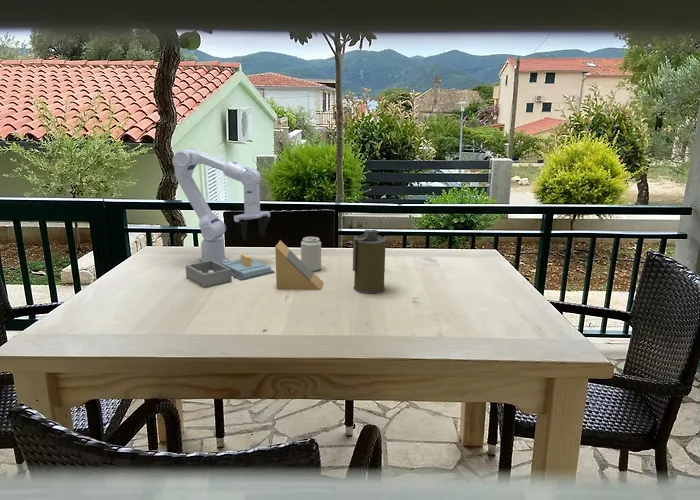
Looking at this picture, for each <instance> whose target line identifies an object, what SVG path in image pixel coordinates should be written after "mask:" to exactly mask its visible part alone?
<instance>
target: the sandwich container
mask: <svg viewBox="0 0 700 500" xmlns="http://www.w3.org/2000/svg"><path fill="white" fill-rule="evenodd" d="M274 249H275V279H276V281H275V282H276V283H275V284H276V289H277V290H293V291H295V290H296V291H297V290H298V291H299V290H300V291H322V290H323V288H324V283H325V282H324V281H323V280H322V279H321V278H320V277H319V276H318V275H317V274H316V273H315V272H314V271H313V272H312V271H311V270H310V269H309V268H308V267H307V266H306V265H305V264H304V263H303V262H302V261H301V258H299V257H298V256H297V255H296V254H295V253H294V252H293V251H292V250H291V249H290V248H289V247H288V246H287V245H286V244H285V243H284V242H283V241H282V240H280V239H279V240H278V243H277V244H276V245H275V247H274Z"/></svg>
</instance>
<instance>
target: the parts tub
mask: <svg viewBox="0 0 700 500" xmlns="http://www.w3.org/2000/svg"><path fill="white" fill-rule="evenodd" d="M185 273H186V274H185V276H186V279H189V280H190V281H192V282H194V283H195V284H197V285H199V286H201V287H203V288H205V289H206V288H210V287H215V286H219V285H223V284H228V283H231V282H232V281H233V280H232V276H231V269H229V268H227V267H225V266H223V265H222V263H220V264H219V263H217V262H215V261H213V260H210V261H205V262H203V261H200V262H196V263H190V264H185Z"/></svg>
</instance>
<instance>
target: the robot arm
mask: <svg viewBox="0 0 700 500" xmlns="http://www.w3.org/2000/svg"><path fill="white" fill-rule="evenodd" d="M172 164H173V165H174V175H175V179H176V181H177V183H178V185H179V186H180V188H181V189H182V191H183V193H184V195H185V197H186V198H187V200H188V202H189V203H190V205H191V207H192V209H193V211H194V212H195V214H196V215H197V217H198V220H199V223H198V226H199V228H200V232H201V233H200V234H201V236H202V238H203V239H202V241H201V242H200V244H201V245H200V249H201V250H200V251H201V258H199V260H200V262H205V261H210V260H213V261H215V262H217V263H219V264H222V263H226V262H230V260H229V259H227V258H226V256H225V255H226V254H225V252H226V251H225V237H224V234H225V232H226V231H227V227H226V224H225V223H224V222H223V220H221V219H220V218H219V216H218V215H216V214H215V213H214V212H213V211H212V210H211V207H210V206H209V203H208V202H207V201H206V199H205V197H204V196H203V194H202V192H201V190H200V188H199V186H198V185H197V183H196V181H195V180H194V178H193V173H194V171H195V168H196V167H197V165H200V164H201V165H205V166H208V167H211V168H214V169H216V170H219V171H221V172H223V174H224V176H226V177H228V178H230V179H232V180H235V181H237V182H240V183H242V185H243V207H244V208H243V209H244V212H243V213H242V214H237V215H233V221H234V222H235V224H236V226H237V227H238V229H239V232H240V235H241V239H242V240H244V241H247V240H248V239H247V238H248V234H247V232H248V222H247V220H254V219H257V222H258V234H259V237H265V233H266V229H267V226H268V224H269V223H270V217H271V212H270V211H261V201H260V200H261V199H260V181H261V179H262V176H261V173H260V171H259V170H257V169H255V168H250V167H249V166H243V165H242V164H239V163H238V161H236V160H233V161H231V160H229V161H228V162H225V161H223V160H221V159H220V158H217V157H215V156H212V155H210V154H208V153H206V152H204V151H202V150H199V149H196V148H193V147H191V148H188V149H179V150H177V151H176V152H175V153H174V156H173V158H172Z"/></svg>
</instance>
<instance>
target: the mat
mask: <svg viewBox="0 0 700 500" xmlns="http://www.w3.org/2000/svg"><path fill="white" fill-rule="evenodd" d="M270 274H271V275H272V274H276V270H275V271H274V270H272V269H271V272H268V273H264V274H260V275H256V276H251V277H247V278H242V277H240V276H238V275H236V274H234V273H232V272H231V277H232V276H233V278H234V279H236V280H238V281H245V280H250V279H254V278H258V277H262V276H266V275H270Z"/></svg>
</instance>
